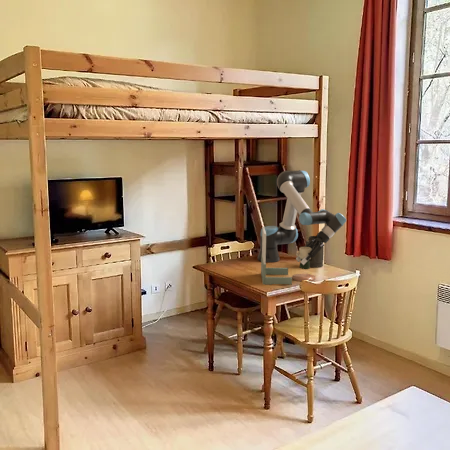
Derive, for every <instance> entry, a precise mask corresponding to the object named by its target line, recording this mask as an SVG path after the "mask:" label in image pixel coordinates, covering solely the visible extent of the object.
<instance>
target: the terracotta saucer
mask: <svg viewBox="0 0 450 450" xmlns="http://www.w3.org/2000/svg"><path fill="white" fill-rule="evenodd" d="M316 279H317V277H316V275H313V274H311V273H310V274H308V273H296V274H293V275H292V280H294V281H297V282H302V280H309V281H310V282H315V281H316Z"/></svg>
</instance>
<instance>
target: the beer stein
mask: <svg viewBox="0 0 450 450" xmlns="http://www.w3.org/2000/svg"><path fill="white" fill-rule="evenodd" d="M313 238H314V239H316V238H317V235H310V236H308V240H306V241H305V244H304V247H305V246H306V245H307V244H308V243H309V242H310V241H311V240H312V239H313ZM324 247H325V246H323V247H322V248H321V249H320V251H319V252H318V253H317V254H316V255H315V256H314V257H311V258H310V259H309V262H310V268H315V269H316V268H323V267H324V252H325V249H324ZM311 250H312V249H311Z"/></svg>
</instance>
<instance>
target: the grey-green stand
mask: <svg viewBox="0 0 450 450" xmlns="http://www.w3.org/2000/svg"><path fill="white" fill-rule="evenodd" d="M264 227H265V226H262V228H261V229H262V255H261V261H260V263H261V264H260V265H261V266H260V276H261V282H262V285H272V284H289V285H290V284H291V285H290V286H292V283H293V278H292V277H293V276H292V277H291V276H290V277H287V276H288V275H289V267H267V262H266V231H265V228H264ZM267 275H269V276H267ZM270 275H272V276H270ZM273 275H274V276H273ZM275 275H276V276H275ZM280 275H283V276H284V275H285V277H283V276H282V277H281V276H280ZM279 276H280V277H279ZM289 285H288V286H289Z"/></svg>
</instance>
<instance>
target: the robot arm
mask: <svg viewBox="0 0 450 450" xmlns="http://www.w3.org/2000/svg"><path fill="white" fill-rule="evenodd" d="M310 184H311V179H310V176H309V174H308V171H306V170H300V169H299V170H284V171H282V172H281V173H279V175H278V176H277V179H276V185H277V187H278V190H279V191H280V192H281V193H283V194H284V196H285V197H286V198H287V199H286V203H285V208H284V213H283V218H282V222H280V223H279V225H278V226H277V225H266V226H263V227H264V228H265V231H266V263H276V262H279V261H280V255H279V251H278V245H286V244H287V245H288V244H293V243H296V241H297V239H298V237H299V233H298V229H297V225H296V224H295V223H296V219H297V214H298V215H299V218H298V219H299V223H300V225H303V226H311V225H322V224H325V225H324V226H323V227H322V228H321V230H320V231H319V232H317V234H316V236H317V238H316V239H314V238H313V239H312V240H311V241H310V242H309V243H308V244H307V245H306V244H305V245H306V246H305V245H304V247H310V248H311V249H312V250H311V251H310V253H308V254H309V255H308V254H307V255H306V256H305V257H304V258H303V260H302V261H301V258H300V257H299V256H298V257H297V256H296V257H295V260H296V261H297V262H298V263H300V261H301V263H302V264H303V265H304V264H305V263H306V262H307V261H308V260H309V259H310V258H311V257H314V256H315V255H316V254H317V253H318V252H319V251H320V249H321V248H322V247H325V244H327V243H328V242H329V241H330V239H331V238H333V237H334V235H335V234H336V233H337V232H338V231H339V230H340V229H342V227H343V226H344V225H345V223H346V222H347V218H346V216H344V215H343V214H342V213H340V212H337V213H336V214H334V213H332V212H330V211H329V210H326V209H324V208H323V209H320V210H318V211H313V210H312V209H311V208H310V207H309V205H308V204H307V202H306V201H305V199H303V197H302V194H303V193H305V190H306V189H307V188H308V187H309V186H310ZM324 243H325V244H324ZM259 245H260V247H259V248H260V250H259V252H258V255H257V261H259V262H261V255H262V228H261V229H260V243H259Z"/></svg>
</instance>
